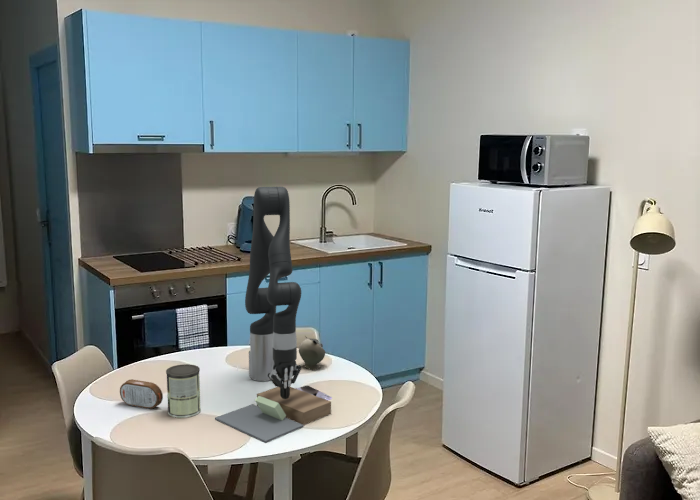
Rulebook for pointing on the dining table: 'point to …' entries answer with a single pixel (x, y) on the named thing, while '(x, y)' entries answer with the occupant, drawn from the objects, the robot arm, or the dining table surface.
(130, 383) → the tin
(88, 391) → the dining table surface
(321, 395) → the mobile phone
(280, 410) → the sponge
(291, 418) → the walnut stand
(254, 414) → the mat
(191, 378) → the coffee can
